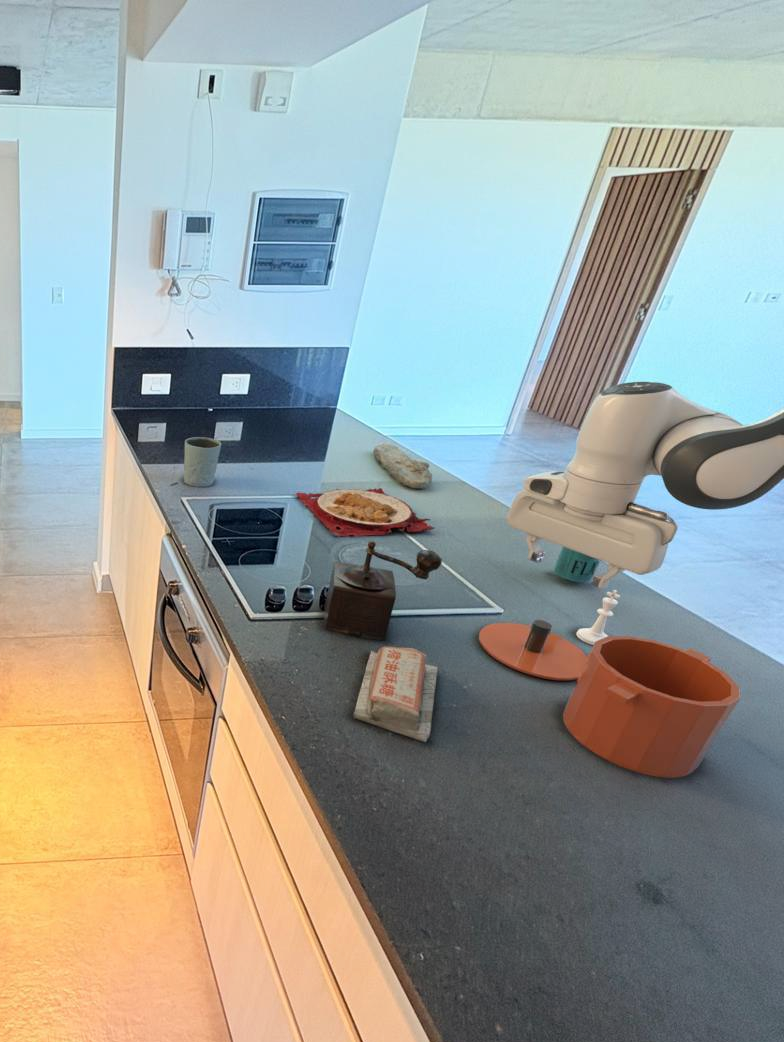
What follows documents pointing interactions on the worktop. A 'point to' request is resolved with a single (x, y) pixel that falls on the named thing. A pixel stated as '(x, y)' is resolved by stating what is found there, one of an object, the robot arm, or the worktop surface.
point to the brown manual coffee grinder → (368, 594)
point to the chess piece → (599, 621)
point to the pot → (649, 705)
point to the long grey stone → (403, 467)
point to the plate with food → (362, 512)
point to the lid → (533, 650)
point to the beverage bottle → (575, 565)
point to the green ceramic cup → (200, 461)
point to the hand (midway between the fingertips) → (565, 573)
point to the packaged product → (398, 692)
